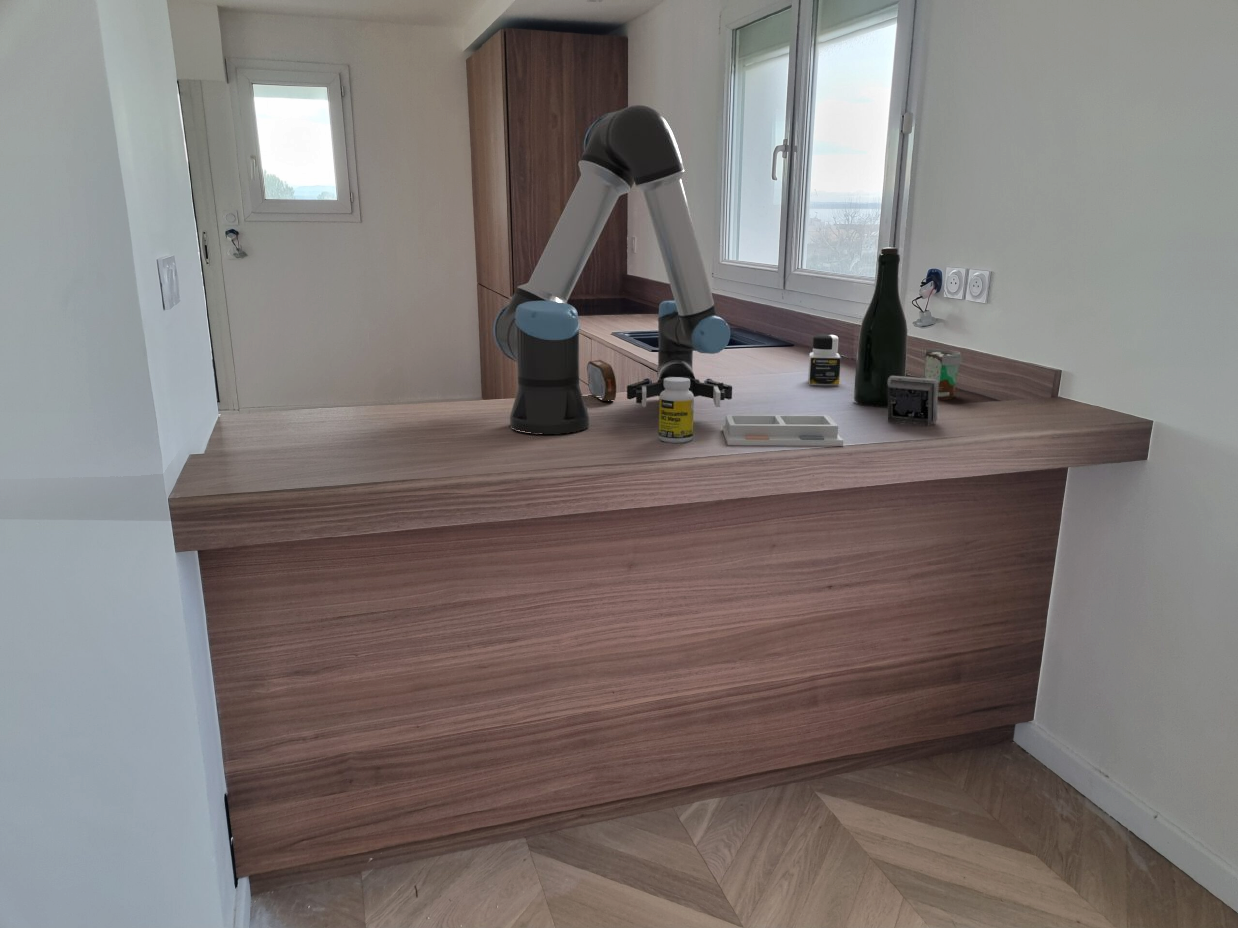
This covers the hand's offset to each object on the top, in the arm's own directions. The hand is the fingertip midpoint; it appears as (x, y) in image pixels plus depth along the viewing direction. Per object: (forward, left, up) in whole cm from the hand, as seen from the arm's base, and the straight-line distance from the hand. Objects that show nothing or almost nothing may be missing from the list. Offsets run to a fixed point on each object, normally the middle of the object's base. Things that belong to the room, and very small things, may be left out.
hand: (681, 399), depth 157 cm
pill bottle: (-1, -5, -7) cm, 8 cm away
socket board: (+18, -3, -6) cm, 19 cm away
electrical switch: (+45, +10, -7) cm, 47 cm away
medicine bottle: (+37, +57, -7) cm, 68 cm away
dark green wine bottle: (+44, +31, -7) cm, 54 cm away
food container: (+61, +40, -7) cm, 73 cm away
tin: (-17, +35, -7) cm, 39 cm away
